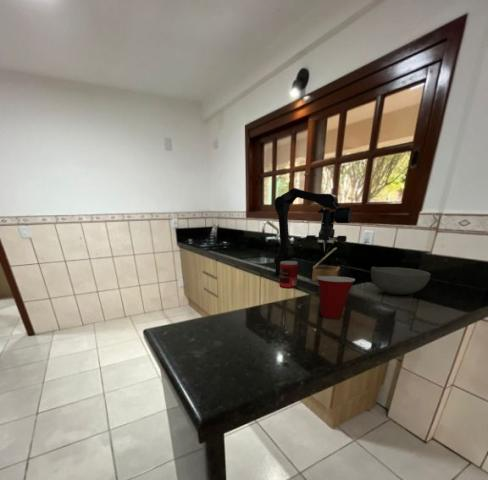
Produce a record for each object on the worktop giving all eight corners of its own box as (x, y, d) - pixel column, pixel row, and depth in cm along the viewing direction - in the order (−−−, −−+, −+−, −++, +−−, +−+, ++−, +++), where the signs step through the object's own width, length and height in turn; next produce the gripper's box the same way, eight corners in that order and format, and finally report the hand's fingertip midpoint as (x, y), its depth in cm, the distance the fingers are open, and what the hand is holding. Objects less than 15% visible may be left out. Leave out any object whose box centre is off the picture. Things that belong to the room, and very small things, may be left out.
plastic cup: (349, 312, 84) (354, 274, 80) (350, 323, 74) (356, 281, 70) (314, 308, 87) (318, 272, 83) (311, 319, 78) (315, 278, 73)
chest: (338, 277, 137) (340, 266, 135) (336, 282, 126) (337, 270, 124) (316, 276, 142) (317, 265, 140) (311, 280, 131) (312, 268, 129)
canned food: (295, 285, 121) (297, 260, 117) (297, 289, 114) (298, 263, 110) (278, 284, 122) (279, 260, 118) (279, 288, 114) (280, 263, 111)
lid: (337, 248, 133) (336, 247, 133) (334, 250, 122) (332, 249, 122) (318, 265, 139) (317, 264, 139) (313, 268, 129) (312, 267, 129)
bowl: (414, 304, 92) (421, 275, 88) (358, 293, 106) (362, 268, 103) (432, 294, 104) (438, 269, 101) (379, 286, 119) (384, 263, 115)
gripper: (304, 223, 122) (301, 257, 128) (346, 223, 115) (342, 259, 120) (309, 223, 131) (306, 255, 137) (348, 223, 124) (344, 257, 130)
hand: (324, 256), depth 131 cm, fingers closed
